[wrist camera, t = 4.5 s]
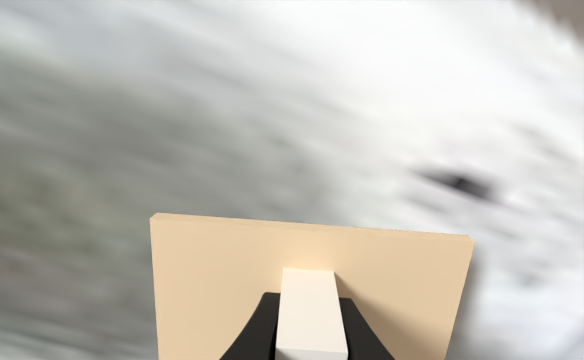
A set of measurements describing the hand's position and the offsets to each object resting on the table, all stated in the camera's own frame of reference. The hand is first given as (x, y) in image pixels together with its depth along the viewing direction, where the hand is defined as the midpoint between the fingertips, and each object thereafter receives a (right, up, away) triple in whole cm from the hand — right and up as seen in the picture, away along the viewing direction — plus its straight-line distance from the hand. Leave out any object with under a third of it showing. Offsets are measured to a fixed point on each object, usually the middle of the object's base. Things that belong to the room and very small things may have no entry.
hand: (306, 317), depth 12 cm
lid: (0, -3, +3) cm, 4 cm away
